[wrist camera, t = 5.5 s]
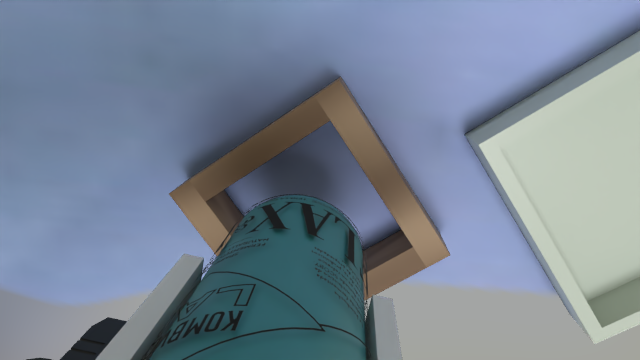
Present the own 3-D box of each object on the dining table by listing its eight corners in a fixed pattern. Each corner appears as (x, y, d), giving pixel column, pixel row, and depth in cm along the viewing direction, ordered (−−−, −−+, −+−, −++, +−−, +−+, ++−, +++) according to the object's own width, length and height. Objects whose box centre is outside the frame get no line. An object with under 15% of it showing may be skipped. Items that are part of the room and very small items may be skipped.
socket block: (188, 179, 27) (168, 193, 24) (340, 76, 25) (338, 79, 22) (290, 315, 29) (284, 343, 27) (440, 233, 27) (450, 255, 24)
